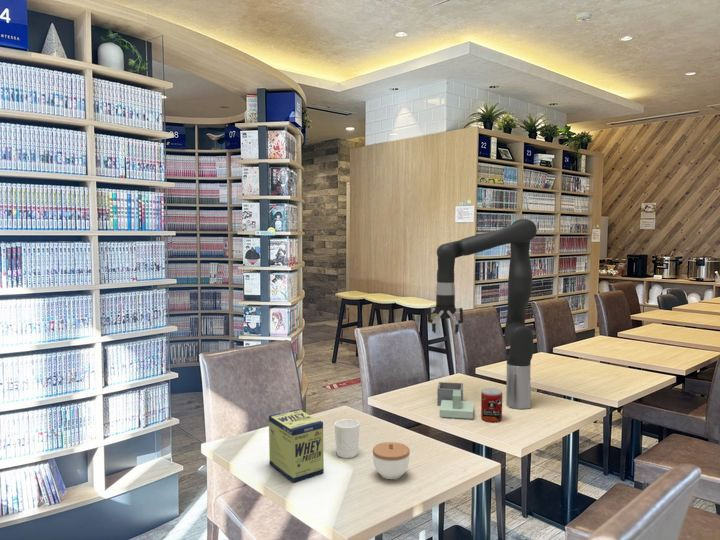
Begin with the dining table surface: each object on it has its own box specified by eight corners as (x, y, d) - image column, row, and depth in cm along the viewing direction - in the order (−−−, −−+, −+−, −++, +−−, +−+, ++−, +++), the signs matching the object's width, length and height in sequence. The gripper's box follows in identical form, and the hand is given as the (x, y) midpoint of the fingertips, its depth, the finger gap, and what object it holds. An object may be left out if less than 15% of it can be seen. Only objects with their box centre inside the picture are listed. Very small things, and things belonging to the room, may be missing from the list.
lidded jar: (365, 475, 155) (364, 443, 154) (390, 463, 162) (390, 433, 162) (392, 487, 147) (392, 454, 147) (417, 474, 155) (417, 443, 154)
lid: (473, 408, 212) (473, 389, 211) (473, 418, 200) (473, 398, 199) (441, 406, 214) (441, 387, 214) (439, 416, 202) (439, 397, 202)
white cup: (331, 451, 172) (331, 420, 172) (354, 447, 175) (354, 417, 174) (339, 460, 165) (339, 429, 164) (363, 456, 168) (363, 425, 167)
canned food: (480, 422, 197) (481, 393, 197) (481, 415, 205) (481, 386, 204) (502, 423, 196) (502, 394, 195) (501, 416, 203) (502, 388, 203)
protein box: (293, 483, 150) (292, 429, 149) (268, 464, 163) (267, 414, 162) (324, 473, 156) (324, 421, 155) (298, 456, 169) (297, 408, 168)
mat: (472, 409, 212) (472, 408, 212) (472, 419, 200) (472, 418, 200) (442, 407, 214) (442, 406, 214) (440, 417, 202) (440, 416, 202)
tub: (462, 399, 224) (463, 383, 224) (462, 407, 214) (462, 390, 214) (439, 398, 226) (439, 382, 226) (437, 405, 216) (437, 388, 216)
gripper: (463, 292, 217) (463, 331, 219) (428, 292, 220) (428, 330, 221) (463, 294, 210) (463, 335, 211) (427, 294, 213) (427, 334, 214)
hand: (445, 333), depth 216 cm, fingers open, 8 cm apart
